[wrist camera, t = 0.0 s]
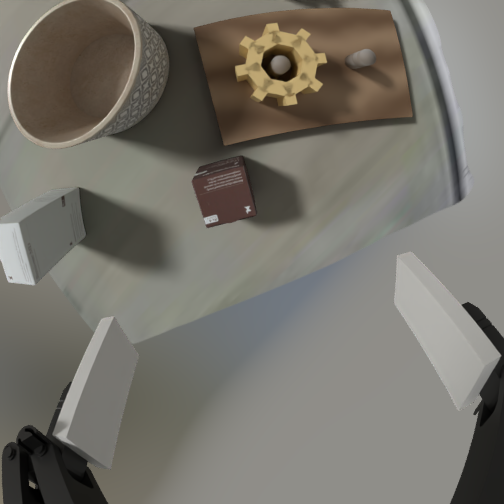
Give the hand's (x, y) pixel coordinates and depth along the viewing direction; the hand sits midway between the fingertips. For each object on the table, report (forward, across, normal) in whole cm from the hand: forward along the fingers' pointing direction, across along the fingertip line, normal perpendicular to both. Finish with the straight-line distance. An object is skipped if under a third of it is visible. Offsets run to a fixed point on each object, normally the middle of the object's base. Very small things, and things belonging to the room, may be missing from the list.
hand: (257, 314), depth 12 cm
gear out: (+26, +7, +12) cm, 29 cm away
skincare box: (+28, -27, +2) cm, 39 cm away
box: (+28, -2, -1) cm, 28 cm away
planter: (+28, -13, +18) cm, 36 cm away
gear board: (+28, +12, +12) cm, 33 cm away
